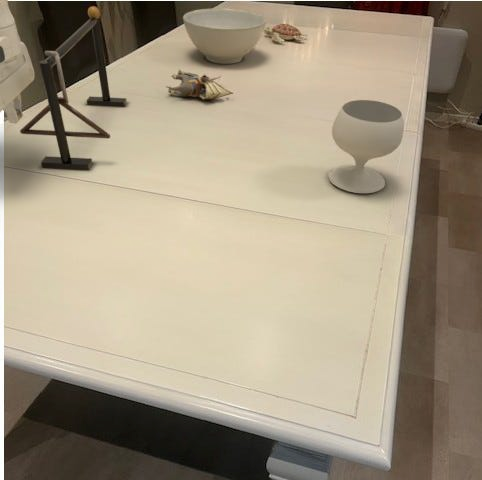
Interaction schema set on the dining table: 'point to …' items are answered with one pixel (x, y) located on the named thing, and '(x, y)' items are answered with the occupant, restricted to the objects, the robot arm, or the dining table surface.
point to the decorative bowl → (224, 32)
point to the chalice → (365, 142)
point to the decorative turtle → (284, 33)
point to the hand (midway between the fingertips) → (16, 120)
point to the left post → (102, 67)
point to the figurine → (197, 86)
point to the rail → (54, 106)
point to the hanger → (64, 103)
